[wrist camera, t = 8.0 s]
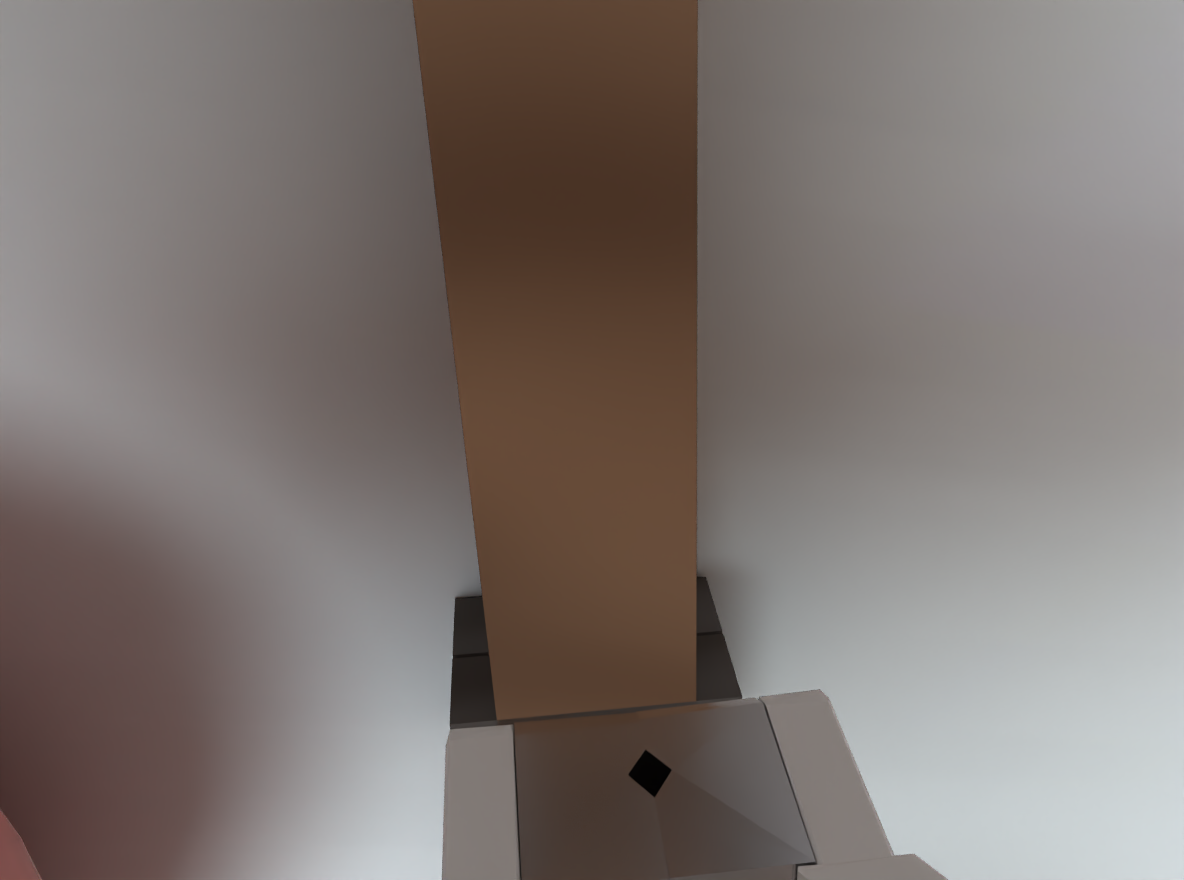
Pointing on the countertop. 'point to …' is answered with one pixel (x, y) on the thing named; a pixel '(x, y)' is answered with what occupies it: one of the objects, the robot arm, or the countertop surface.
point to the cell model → (14, 854)
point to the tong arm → (574, 347)
